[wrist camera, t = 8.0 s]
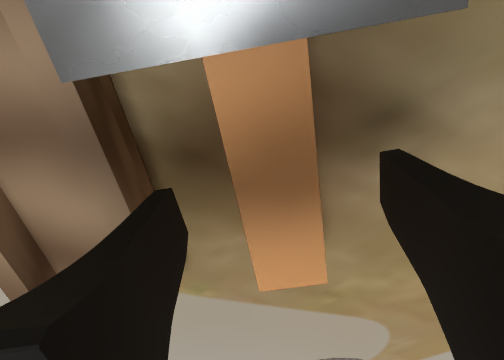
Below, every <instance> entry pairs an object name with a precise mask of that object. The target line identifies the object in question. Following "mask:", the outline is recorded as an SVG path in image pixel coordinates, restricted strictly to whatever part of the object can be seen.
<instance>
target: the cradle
mask: <svg viewBox="0 0 504 360" xmlns="http://www.w3.org/2000/svg"><path fill="white" fill-rule="evenodd" d="M153 192H154V190H153V188H152V185H151V183H150V180H149V177H148V175H147V172H146V169H145V167H144V164H143V162H142V159H141V156H140V154H139V151H138V149H137V146H136V143H135V141H134V138H133V136H132V133H131V130H130V128H129V125H128V123H127V120H126V117H125V115H124V112H123V109H122V107H121V104H120V102H119V99H118V96H117V94H116V91H115V89H114V86H113V83H112V81H111V78H110V76H109V75H103V76H98V77H92V78H87V79H82V80H76V81H71V82H65V83H61V81H60V78H59V76H58V74H57V72H56V70H55V67H54V65H53V63H52V61H51V59H50V57H49V54H48V52H47V50H46V48H45V46H44V43H43V41H42V39H41V37H40V35H39V32H38V30H37V28H36V26H35V24H34V22H33V19H32V17H31V15H30V13H29V11H28V8H27V6H26V4H25V2H24V0H0V288H1V289H2V291H3V292H4V293H5V294H6V296H7V297H8V298H9V299H10V301H12V300H14V299H16V298H18V297H20V296H21V295H23V294H25V293H27V292H29V291H30V290H32V289H34V288H36V287H37V286H39V285H41V284H42V283H44V282H45V281H47V280H49V279H50V278H52V277H53V276H55V275H56V274H58V273H59V272H61V271H62V270H64V269H65V268H67V267H68V266H70V265H71V264H73V263H74V262H75V261H77V260H78V259H79V258H81V257H82V256H83V255H85V254H86V253H87V252H89V251H90V250H91V249H92V248H94V247H95V246H96V245H97V244H98V243H100V242H101V241H102V240H103V239H104V238H105V237H106V236H107V235H109V234H110V233H111V232H112V231H113V230H114V229H115V228H116V227H117V226H119V225H120V224H121V223H122V222H123V221H124V220H125V219H126V218H127V217H128V216H129V215H130V214H131V213H132V212H133V211H134V210H135V209H136V208H137V207H138V206H139V205H140V204H141V203H142V202H143V201H144V200H145V199H146V198H147V197H148V196H149V195H151V194H152V193H153Z"/></svg>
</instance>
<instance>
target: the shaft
mask: <svg viewBox="0 0 504 360" xmlns="http://www.w3.org/2000/svg"><path fill="white" fill-rule="evenodd" d="M202 60H203V64H204V68H205V72H206V76H207V80H208V84H209V88H210V92H211V96H212V100H213V104H214V108H215V112H216V116H217V120H218V124H219V129H220V133H221V137H222V141H223V145H224V149H225V153H226V157H227V161H228V165H229V169H230V173H231V177H232V181H233V185H234V189H235V193H236V197H237V201H238V206H239V210H240V214H241V218H242V222H243V226H244V230H245V234H246V238H247V242H248V246H249V250H250V254H251V258H252V262H253V266H254V270H255V274H256V278H257V283H258V287H259V291H260V292H261V291H269V290H277V289H285V288H293V287H301V286H310V285H318V284H326V283H327V271H326V259H325V247H324V235H323V223H322V210H321V198H320V186H319V174H318V162H317V150H316V138H315V126H314V114H313V102H312V90H311V78H310V66H309V54H308V42H307V38H303V39H297V40H292V41H286V42H281V43H276V44H270V45H265V46H260V47H254V48H249V49H243V50H238V51H233V52H227V53H222V54H216V55H211V56H206V57H202Z"/></svg>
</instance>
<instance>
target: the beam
mask: <svg viewBox="0 0 504 360" xmlns="http://www.w3.org/2000/svg"><path fill="white" fill-rule="evenodd" d="M24 2H25V4H26V6H27V8H28V11H29V13H30V15H31V17H32V19H33V22H34V24H35V26H36V28H37V30H38V32H39V35H40V37H41V39H42V41H43V43H44V46H45V48H46V50H47V52H48V54H49V57H50V59H51V61H52V63H53V65H54V67H55V70H56V72H57V74H58V76H59V78H60V81H61V83H65V82H71V81H76V80H82V79H87V78H92V77H98V76H103V75H109V74H114V73H119V72H125V71H130V70H136V69H141V68H146V67H152V66H157V65H163V64H168V63H173V62H179V61H184V60H189V59H195V58H200V57H206V56H211V55H216V54H222V53H227V52H233V51H238V50H243V49H249V48H254V47H260V46H265V45H270V44H276V43H281V42H286V41H292V40H297V39H303V38H308V37H313V36H319V35H324V34H330V33H335V32H340V31H346V30H351V29H357V28H362V27H367V26H373V25H378V24H383V23H389V22H394V21H400V20H405V19H410V18H416V17H421V16H427V15H432V14H437V13H443V12H448V11H454V10H459V9H464V8H468V0H24Z"/></svg>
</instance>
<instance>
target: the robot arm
mask: <svg viewBox="0 0 504 360" xmlns="http://www.w3.org/2000/svg"><path fill="white" fill-rule="evenodd" d="M380 203H381V205H382V208H383V211H384V213H385V216H386V218H387V221H388V223H389V226H390V227H391V229H392V231H393V233H394V235H395V236H396V238H397V240H398V242H399V243H400V245H401V247H402V249H403V250H404V252H405V254H406V256H407V257H408V259H409V261H410V263H411V264H412V266H413V268H414V269H415V271H416V273H417V275H418V276H419V278H420V280H421V282H422V284H423V286H424V288H425V290H426V292H427V294H428V297H429V299H430V301H431V304H432V306H433V308H434V311H435V313H436V315H437V317H438V320H439V322H440V325H441V327H442V330H443V332H444V334H445V337H446V339H447V342H448V344H449V347H450V349H451V352H452V354H453V357H454V359H455V360H504V195H503V194H500V193H497V192H494V191H491V190H488V189H485V188H483V187H480V186H477V185H475V184H472V183H470V182H468V181H465V180H463V179H460V178H458V177H456V176H453V175H451V174H449V173H447V172H445V171H443V170H441V169H439V168H436V167H434V166H432V165H430V164H428V163H426V162H424V161H422V160H421V159H419V158H417V157H415V156H413V155H411V154H409V153H407V152H404V151H402V150H400V149H395V150H389V151H383V152H380ZM187 243H188V231H187V228H186V225H185V222H184V220H183V217H182V214H181V212H180V209H179V206H178V203H177V201H176V198H175V195H174V193H173V190H172V188H168V189H162V190H156V191H154V192H153V193H152V194H151V195H149V196H148V197H147V198H146V199H145V200H144V201H143V202H142V203H141V204H140V205H139V206H138V207H137V208H136V209H135V210H134V211H133V212H132V213H131V214H130V215H129V216H128V217H127V218H126V219H125V220H124V221H123V222H122V223H121V224H120V225H119V226H117V227H116V228H115V229H114V230H113V231H112V232H111V233H110V234H109V235H107V236H106V237H105V238H104V239H103V240H102V241H101V242H100V243H98V244H97V245H96V246H95V247H94V248H92V249H91V250H90V251H89V252H87V253H86V254H85V255H83V256H82V257H81V258H79V259H78V260H77V261H75V262H74V263H73V264H71V265H70V266H68V267H67V268H65V269H64V270H62V271H61V272H59V273H58V274H56V275H55V276H53V277H52V278H50V279H49V280H47V281H45V282H44V283H42V284H41V285H39V286H37V287H36V288H34V289H32V290H30V291H29V292H27V293H25V294H23V295H21V296H20V297H18V298H16V299H14V300H12V301H10V302H9V303H7V304H5V305H3V306H1V307H0V360H168V352H169V342H170V334H171V325H172V319H173V314H174V309H175V305H176V301H177V296H178V292H179V288H180V283H181V279H182V275H183V270H184V265H185V261H186V255H187ZM321 360H362V359H354V358H329V359H321Z"/></svg>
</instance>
